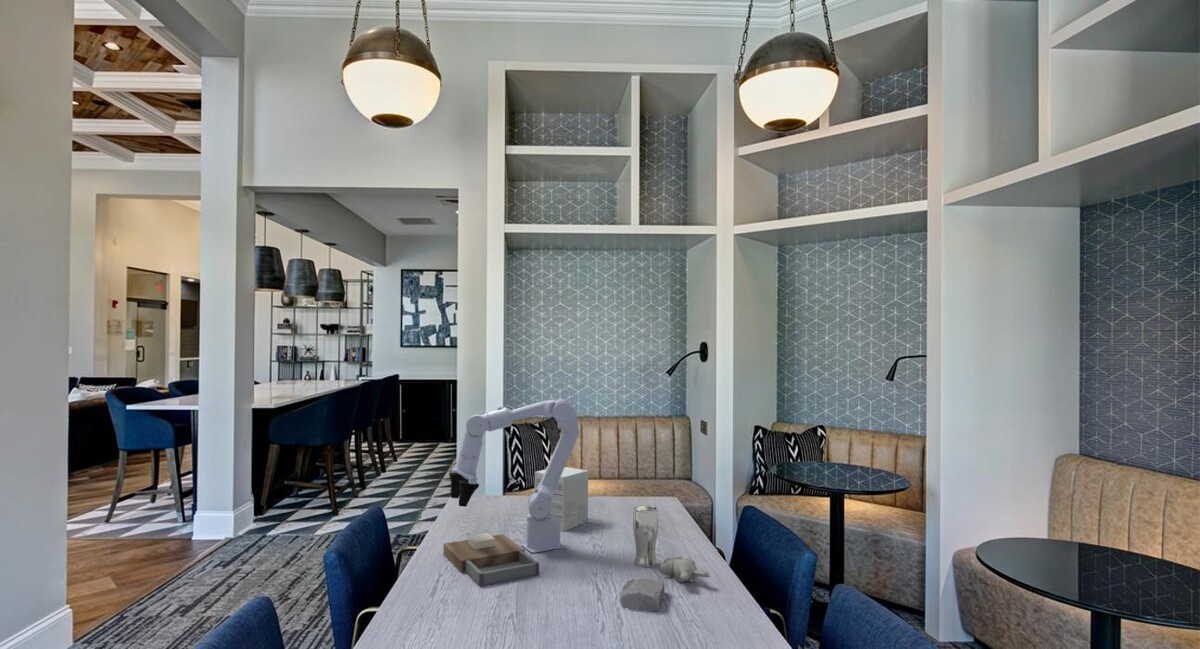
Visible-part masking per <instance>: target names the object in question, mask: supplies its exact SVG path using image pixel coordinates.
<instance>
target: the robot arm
mask: <svg viewBox="0 0 1200 649" xmlns="http://www.w3.org/2000/svg"><path fill="white" fill-rule="evenodd" d="M576 412H577V411H576V410H575V409H574V407H573V405H572V403H570V402H569V401H568V400H567V399H565V398H563V397H562V398H557V399H548V400H542V401H537V402H535V403H532V404H529V405H525V406H524V405H523V406H521V407H518V408H516V409H512V410H511V409H510V408H508V407H503V406H497V409H494V410H489V411H485V410H484V411H481V412H480V413H481V414H479V413H477V414H473V415H471V416H470V417H469V418H468V420H467V421H466V425H465V426H466V427H465V428H466V431H465V432H464V437H462V438H463V439H462V443H461V448H460V451H459V456H458V459H457V463H455V464H454V467H453V468H451V472H449V473H448V474H449V479H450V497H451V499H458V506H459V507H468V504H469V502H470V500H471V497H472V496H473V495H474V493H475V492H476V490H478V488H479V487H480V484H479V483H477V480H478V477H477V468H478V463H479V460H480V455H481V451H482V448H483V438H484V434H485V433H486V432H489V433H490V432H494V431H496V430H501V429H504V428H509V427H511V426H512V424H513V422H514V421H518V420H522V419H527V418H532V417H536V416H543V417H546V418H551V415H552V417H553V419H554V420H555V421H556V422H557V423H558V426H559V428H560V430H561V435H560V437H559V439H558V442H557V444H556V446H555V448H554V450H553V452H552V455H551V457H550V460H549V462H548V465H547V467H546V468H545V469H546V471H545V473H544V475H543V478H542V480H541V482H540V483H539V485H538V486H537V488H536V490H535V489H534V490H533V492H532V493H530V495H529V497H528V500H527V501H528V502H527V503H528V511H529V512H528V514H526V543H525V542H523V543H521V546H520V547H522V548H523V549H525V550H527V551H528V552H529V553H531V554H535V553H541V552H545V551H547V552H548V551H552V550H558V549H562V546H561V531H560V522H559V519H558V517H557V516H556V515H551V513H550V511H551V501H552V499H553V495H554V491H555V488H556V486H557V483H558V481H559V479H560V477H561V474H562V472H563V470H564V467H566V465H567V463H568V462H569V458H570V456H571V454H572V451H573V449H574V446H575V444H576V442H577V440H578V438H579V436H580V430H579V424H578V417H577V413H576Z"/></svg>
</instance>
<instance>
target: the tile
mask: <svg viewBox="0 0 1200 649" xmlns="http://www.w3.org/2000/svg"><path fill="white" fill-rule="evenodd" d="M492 536H493V535H491V534H490V533H488V532H485V533H480V534H474V535H467V540H468V544H469V545H470V546H471V547H472V548H474V549H480V548H486V547H492V546H495V538H494V537H492Z"/></svg>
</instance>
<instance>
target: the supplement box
mask: <svg viewBox="0 0 1200 649" xmlns="http://www.w3.org/2000/svg"><path fill="white" fill-rule="evenodd" d="M545 471H546V468H545V469H541V470H536V471H534V491H535V490H536V488H537V486H538V485H539V483H540V482H541V480H542V478H543V475H544V473H545ZM550 513H551V515H556V516H557V517H558V519H559V522H560V532H565V531H568V530H570V529H573V528H576V527H579V526H581V525H584V524H586V523H585V522H587V523H588V522H589V470H587V469H581V468H573V467H567V466H565V467H564V470H563V472H562V474H561V477H560V479H559V481H558V483H557V486H556V488H555V491H554V495H553V499H552V501H551V511H550ZM583 523H584V524H583ZM580 524H581V525H580ZM578 525H579V526H578Z"/></svg>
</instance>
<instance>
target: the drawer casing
mask: <svg viewBox="0 0 1200 649" xmlns="http://www.w3.org/2000/svg"><path fill="white" fill-rule="evenodd" d="M491 536H492V537H494V538H495V546H492V547H486V548H480V549H474V548H472V547H471V546H470V545H469V544H468V539H463V540H457V541H452V542H446V543H443V552H442V553H443V555H444V556H445V557H446V558H447V559H448V561H449V562H450V563H452V565H453V566H454V567H455V568H456V570H458V571H459V572H460V573H466V572H465V571H466V561H467V560H470V561H471V562H472V563H473V564H474V565H475V566H476V567H477V568H484V567H489V566H495V565H500V564H505V563H511V562H516V561H519V551H523V552H524V553H526V552H525V551H526V549H525V548H524V547H523V546H520V545H519V544H517V543H516V542H515V541H513V540H512V539H511V538H510V537H508V536H506V535H505V534H496V535H491Z"/></svg>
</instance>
